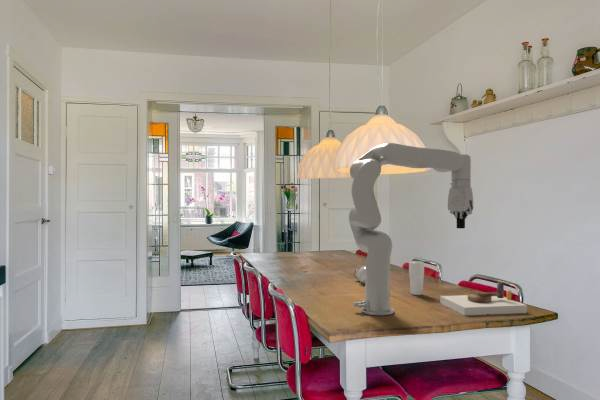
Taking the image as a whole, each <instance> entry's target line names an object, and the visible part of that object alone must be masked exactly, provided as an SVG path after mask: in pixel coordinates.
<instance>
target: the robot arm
mask: <svg viewBox="0 0 600 400" xmlns="http://www.w3.org/2000/svg"><path fill="white" fill-rule="evenodd" d="M471 161H472V160H471V156H470V155H469V154H465V153H462V154H460V153H459V152H457V151H452V150H448V149H447V150H445V149H437V148H428V147H420V146H419V147H418V146H412V145H406V144H402V143H400V144H399V143H394V142H385V143H382V144H377V145H376V146H374V147H372V148H371V149H369V151H367V152H366V153H365V154H363V155H362V156H360V157H358V159H357V160H355V161H354V162H353V163H352V164H351V165H350V168H349V174H350V177H351V179H352V185H351V197H352V200H353V205H354V206H353V207H352V208H351V210H349V213H348V223H349V225H350V229H351V232H352V235H353V238H354V241H355V244H356V246H357V247H358V249H359V250H360V251H361V252H363V253H366V254H367V256H366V259H365V265H364V266H365V284H364V285H365V288H364V289H365V292H364V293H365V294H364V296H365V298H362V300H360V301H353V304H352V305H353V308H358V309H359V308H360V309H361V313H363V314H366V315H368V316H369V315H370V316H390V315H392V314H394V313H395V310H394V308H393V307H392V306H390V305H391V301H390V300H391V296H390V295H391V289H390V288H391V256H392V251H393V242H392V238H391V237H390V235H388V234H387V233H386V232H383V231H380V230H376V229H377V228H378V227H379V226H380V225H381V223H382V215H381V212H380V209H379V205H378V203H377V200H376V199H377V198H376V196H375V191H374V190H375V189H374V188H375V184H376V181H377V180H378V178H379V177H380V174H381V173H382V166H385V165H392V166H397V167H398V166H399V167H405V168H411V169H429V168H431V169H433V170H434V171H436V172H438V173H447V172H451V174H450V176H451V177H450V178H451V182H450V183H449V185H451V187H449V191H448V197H447V209H448V211H449V213H450V214H451V215H453V216H454V218H455V219H456V229H465V228H466V219H467V217H468V216H470V215H472V214H473V210H474V193H473V188H472V187H471V186H472V185H471V177H472V176H471V173H472V172H471V168H472V167H471Z"/></svg>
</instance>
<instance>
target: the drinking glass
mask: <svg viewBox="0 0 600 400" xmlns="http://www.w3.org/2000/svg"><path fill="white" fill-rule="evenodd" d="M408 273H409V274H408V275H409V283H410V284H409V287H410V294H411V296H413V295H414V296H421V295H423V288H424V277H425V262H424V261H421V260H411V261H408Z"/></svg>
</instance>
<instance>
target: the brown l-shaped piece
mask: <svg viewBox="0 0 600 400" xmlns="http://www.w3.org/2000/svg"><path fill="white" fill-rule="evenodd" d="M504 286H505V285H504V282H501V281H500V282H499V281H497V282H496V291H494V292H493V291H492V292H477V293H470V294H467V295H468V300H470V301H474V302H491V301H492V297H491V296H497V298H504V297H505V296H504V295H505V294H504V292H505V291H504V290H505V289H504V288H505V287H504Z"/></svg>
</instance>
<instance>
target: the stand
mask: <svg viewBox="0 0 600 400" xmlns="http://www.w3.org/2000/svg"><path fill="white" fill-rule="evenodd" d="M468 295H469V294H467V295H466V294H465V295H464V294H463V295H439V296H440V297H439V299H440V300H439V301H440V304H441V305H442V306H445V307H446V308H447V307H448V308H449V309H451V310H453V311H455V312H456V313H459V314H460V315H463V316H486V315H487V314H489V315H506V314H507V315H511V314H512V315H513V314H527V313H528V305H527V304H524V303H522V302H519V301H517V300H514V299H512V290H506V296H504V298H497V296H491V297H492V301H491V302H474V301H470V300H468Z"/></svg>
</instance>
